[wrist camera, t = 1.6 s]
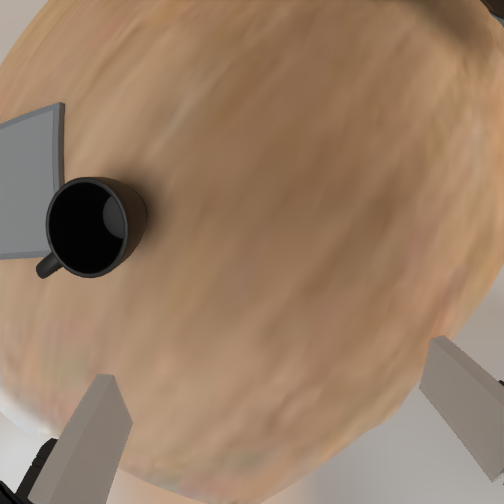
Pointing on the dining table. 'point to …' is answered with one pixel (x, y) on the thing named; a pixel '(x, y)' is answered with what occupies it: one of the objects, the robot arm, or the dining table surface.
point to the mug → (92, 227)
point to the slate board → (29, 179)
